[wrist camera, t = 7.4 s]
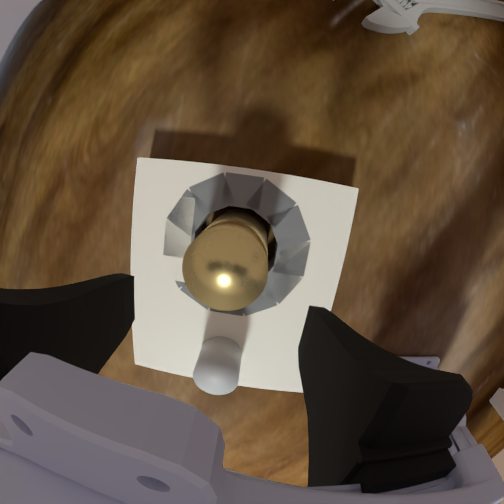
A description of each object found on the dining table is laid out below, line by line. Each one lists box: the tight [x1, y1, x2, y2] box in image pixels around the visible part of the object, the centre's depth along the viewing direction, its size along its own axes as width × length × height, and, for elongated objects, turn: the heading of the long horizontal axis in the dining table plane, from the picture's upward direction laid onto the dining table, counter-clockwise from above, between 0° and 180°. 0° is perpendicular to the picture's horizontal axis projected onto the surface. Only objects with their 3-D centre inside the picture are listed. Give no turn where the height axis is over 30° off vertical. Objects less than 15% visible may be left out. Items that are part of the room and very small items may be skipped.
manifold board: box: [131, 158, 358, 395], centre depth 18 cm, size 14×16×5 cm
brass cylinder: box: [182, 209, 268, 311], centre depth 17 cm, size 4×4×7 cm
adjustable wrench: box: [333, 0, 504, 35], centre depth 13 cm, size 25×6×2 cm, turn 107°
